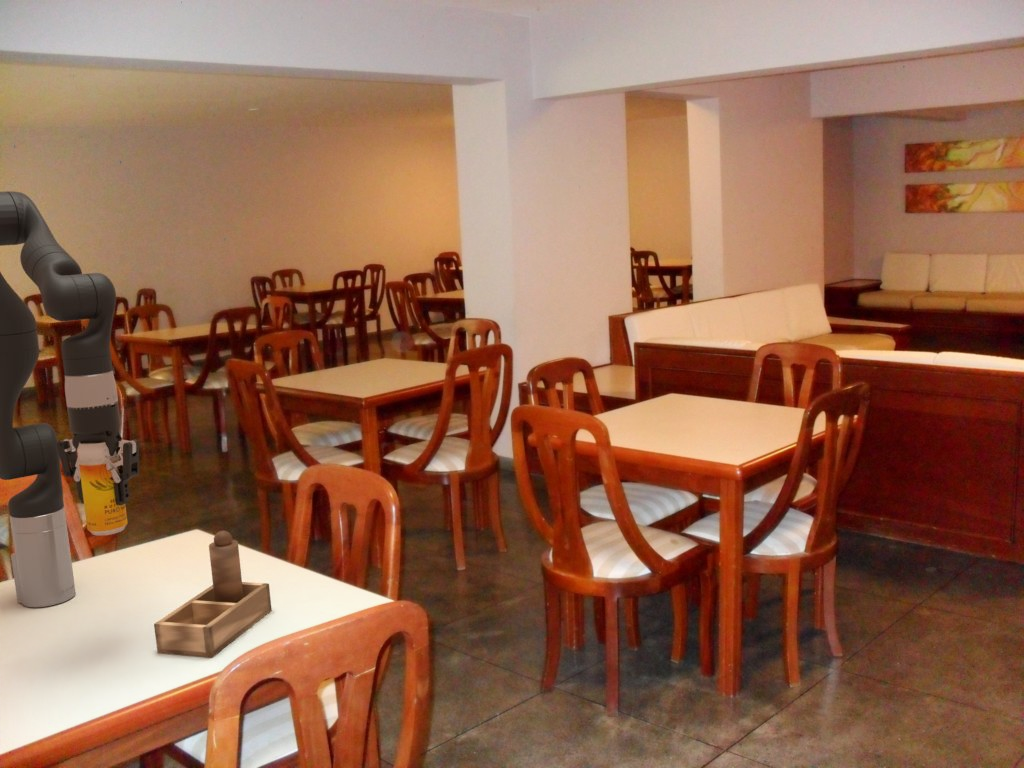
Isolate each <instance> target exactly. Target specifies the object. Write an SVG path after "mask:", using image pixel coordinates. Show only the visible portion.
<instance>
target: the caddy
mask: <svg viewBox="0 0 1024 768" xmlns="http://www.w3.org/2000/svg"><path fill="white" fill-rule="evenodd" d="M208 551H209V561H210V568H211V569H210V571H211V577H212V585H211V586H209V587H207V588H205V589H204V590H203V591H202V592H200V593H198V594H196V595H195V596H194V597H192V598H191V599H189V600H188V601H186V602H185V603H183V604H182V605H179V607H176V608H175V609H174V610H173V611H171V612H170V613H168V614H167V615H165V616H164V617H162V618H161V619H159V620H158V621H156V622H155V623H154V625H153V627H154V634H155V645H156V652H157V653H156V654H163V655H175V656H187V657H188V656H189V657H199V658H213V657H215V656H216V655H217V654H218V653H219V652H221V651H222V650H223V649H225V648H227V646H229V644H231V643H232V642H234V641H235V640H236V639H238V637H240V636H241V635H243V634H244V633H245V632H247V630H249V629H250V628H251V627H252V626H254V625H255V624H256V623H258V622H259V621H260V620H262V619H263V618H264V617H265V616H266V615H268V614H269V613H271V612H272V601H271V591H270V590H271V589H270V583H267V582H266V583H265V582H264V583H263V582H248V581H243V580H242V579H243V577H242V569H241V558H240V550H239V541H238V540H236V539H233V536H232V535H231V533H230V532H229V531H227V530H220V531H218V532H217V533H216V534H215V535H214V537H213V542H211V543H209V545H208Z"/></svg>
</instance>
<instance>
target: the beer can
mask: <svg viewBox="0 0 1024 768" xmlns="http://www.w3.org/2000/svg"><path fill="white" fill-rule="evenodd" d="M76 454H77V458H78V460H79V468H80V476H81V484H82V492H83V499H84V504H83V506H84V513H85V514H84V515H85V521H86V522H85V523H86V529H87V531H89V532H90V533H91V535H93V536H109V535H114V534H118V533H120V532H122V531H124V530H125V528H126V526H127V525H128V524H129V523H128V522H129V521H128V514H127V507H126V506H127V505H126V504H123V505H117V504H116V499H115V491H114V483H116V482H115V481H114V479H113V477H112V476H111V472H110V471H108V470H107V468H106V464H107V463H106V460H105V456H107V457H108V458H109V459H110V461H111V462H112V463H115V462H118V461H119V452H118V454H117V453H116V451H115V453H114V455H113V456H110V454H109V449H108V447H107V446H106V443H105V442H103V443H82V444H81V442H79V446H78V449H77V450H76ZM117 469H118V471H119V473H120V470H119V467H117Z"/></svg>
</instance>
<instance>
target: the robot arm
mask: <svg viewBox="0 0 1024 768" xmlns="http://www.w3.org/2000/svg"><path fill="white" fill-rule="evenodd" d="M22 244H23V245H22ZM15 245H16V246H18V245H22V248H21V251H20V264H21V267H22V269H23V271H24V273H25V274H26V276H28V278H29V279H30V280H31V281H32V283H34V284H35V285H36V287H37V288H38V290H39V292H40V297H41V301H42V306H43V309H44V311H45V313H46V314H47V316H48V317H50V318H52V319H53V320H54V321H59V322H74V321H80V320H82V321H83V320H88V322H87V325H86V327H85V329H84V330H83V331H81V332H79V333H77V334H74V335H71V336H68V337H66V338H64V339H63V340H62V342H61V350H60V351H61V358H62V364H63V371H64V372H63V373H64V393H65V394H64V395H65V401H66V409H67V419H68V426H69V432H71V433H72V434H73V436H72V438H71V437H69V438H65V439H63V440H60V441H59V439H58V436H57V433H56V431H55V429H54V428H53V427H52V425H51V424H49V423H46V422H40V423H34V424H28V425H22V426H16V427H15V426H14V427H13V425H14V424H13V423H14V416H15V415H14V414H15V409H16V406H17V403H18V400H19V397H20V395H21V393H22V391H23V390H24V387H25V386H26V384H27V383H28V381H29V380H30V377H31V375H32V373H33V372H34V370H35V367H36V365H37V364H38V361H39V356H40V346H39V345H40V344H39V337H38V335H39V334H38V325H37V321H36V317H35V316H34V314H33V312H32V311H31V308H29V306H28V305H27V304H26V302H25V301H24V300H23V299H22V298H21V297H20V296H19V294H18V293H17V292H16V291H15V290H14V289H13V288H12V286H11V285H10V284H9V283H8V282H7V279H6V278H5V276H4V275H3V274H2V272H1V271H0V480H3V481H11V480H16V479H21V478H27V477H31V476H36V477H35V480H33V482H32V483H30V484H29V485H28V487H26V488H24V489H23V490H21V491H20V492H18V493H16V494H15V495H13V496H12V497H11V498H10V499H9V500H8V503H7V507H8V513H9V514H8V515H9V522H10V527H11V528H10V529H11V535H12V541H13V542H12V543H13V549H14V552H13V553H11V554H10V558H11V566H12V567H11V568H12V573H13V579H14V586H15V594H16V600H17V601H16V602H17V604H18V603H19V604H22V605H23V606H24V607H28V608H44V607H51V606H55V605H58V604H62V603H64V602H67V601H68V600H71V599H72V598H73V597H75V595H76V586H75V585H76V584H75V578H74V569H73V563H72V562H73V561H72V554H71V547H70V540H69V533H68V525H67V518H66V510H65V503H64V489H63V487H64V486H63V480H62V471H63V475H64V476H65V478H72V479H73V480H74V481H75V482H76V487H77V489H76V490H77V495H78V499H79V500H80V502H81V504H83V505H84V499H83V492H82V484H81V476H80V468H79V460H78V453H77V449H78V446H79V442H81V444H82V443H103V442H105V443H106V446H107V447H108V449H109V454H110V456H113V455H114V453H115V451H116V453H117V454H118V452H119V461H118V462H115V463H112V462H111V461H110V459H109V458H108V457H107V456H105V460H106V463H107V464H106V468H107V470H108V471H110V472H111V476H112V477H113V479H114V481H115V482H116V483H114V491H115V499H116V504H117V505H123V504H125V505H126V504H127V503H129V500H130V498H131V494H130V493H131V492H130V485H129V480H130V479H131V478H134V477H137V476H139V475H140V442H139V440H138V439H132V440H127V439H124V438H123V437H122V436H121V433H120V428H121V425H122V423H121V422H122V421H121V415H120V405H119V398H118V397H119V396H118V390H117V389H118V388H117V384H116V383H117V382H116V379H115V376H114V371H113V361H112V355H111V354H112V352H111V337H112V330H113V328H112V327H113V322H114V316H115V310H116V304H117V292H116V288H115V285H114V284H113V282H112V281H111V279H110V278H109V277H108V276H107V275H105V274H103V273H101V272H92V273H83V271H82V269H81V266H80V265H79V263H78V262H77V261H76V260H75V258H73V257H72V255H70V254H69V253H68V252H67V251H66V250H65V249H64V248H63V247H62V246H61V244H59V242H58V241H57V240H56V238H55V236H54V235H53V232H52V230H51V229H50V227H49V225H48V223H47V222H46V220H45V219H44V217H43V216H42V213H41V212H40V210H39V209H38V207H37V205H36V204H35V202H34V201H33V199H31V197H29V196H28V195H27V194H25V193H23V192H21V191H13V190H12V191H10V190H9V191H0V246H2V247H5V246H15ZM61 467H62V470H61ZM117 467H119V470H120V473H119V471H118V469H117Z"/></svg>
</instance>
